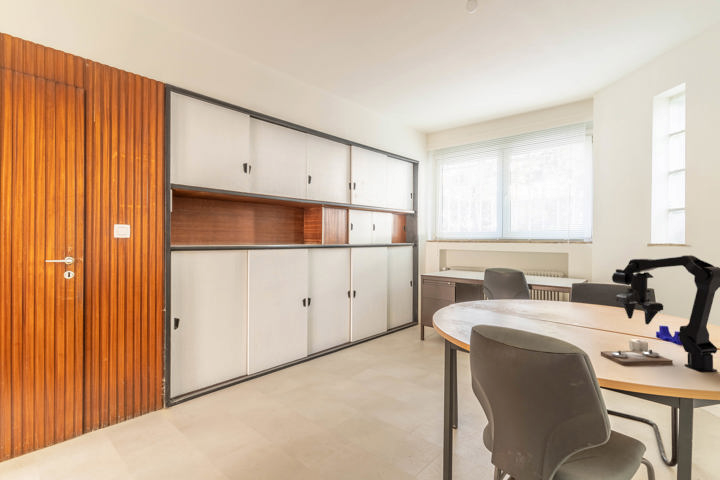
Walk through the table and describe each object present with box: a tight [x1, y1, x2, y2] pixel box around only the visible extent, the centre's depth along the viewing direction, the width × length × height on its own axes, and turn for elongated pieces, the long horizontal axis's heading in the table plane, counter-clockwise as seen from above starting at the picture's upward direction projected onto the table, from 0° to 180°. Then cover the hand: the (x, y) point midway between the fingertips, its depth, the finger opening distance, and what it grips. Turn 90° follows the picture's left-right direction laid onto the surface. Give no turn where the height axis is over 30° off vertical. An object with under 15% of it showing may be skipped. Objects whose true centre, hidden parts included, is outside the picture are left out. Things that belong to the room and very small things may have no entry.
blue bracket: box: [655, 325, 683, 346], centre depth 162 cm, size 12×4×6 cm, turn 169°
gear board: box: [600, 350, 674, 366], centre depth 138 cm, size 12×20×2 cm, turn 91°
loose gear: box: [628, 338, 649, 351], centre depth 150 cm, size 6×6×4 cm
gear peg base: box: [611, 349, 660, 358], centre depth 138 cm, size 5×18×2 cm, turn 91°
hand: (638, 321), depth 150 cm, fingers open, 9 cm apart
